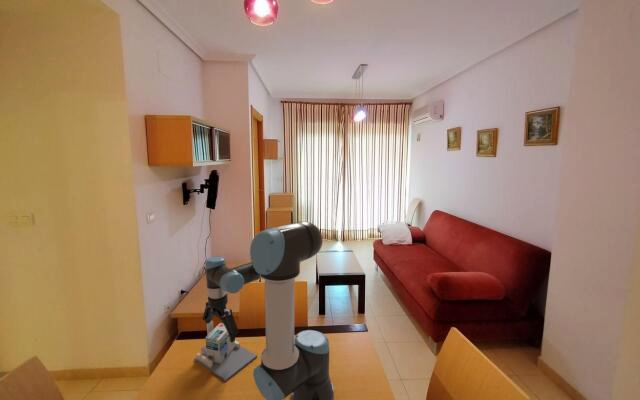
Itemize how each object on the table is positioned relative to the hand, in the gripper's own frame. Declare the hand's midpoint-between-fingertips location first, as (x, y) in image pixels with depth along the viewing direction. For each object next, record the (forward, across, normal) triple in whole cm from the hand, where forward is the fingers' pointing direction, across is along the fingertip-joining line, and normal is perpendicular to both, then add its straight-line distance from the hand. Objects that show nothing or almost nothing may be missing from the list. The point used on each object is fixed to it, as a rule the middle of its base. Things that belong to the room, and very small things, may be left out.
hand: (221, 342), depth 124 cm
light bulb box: (+6, 0, 0) cm, 6 cm away
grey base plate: (+7, -2, 0) cm, 7 cm away
